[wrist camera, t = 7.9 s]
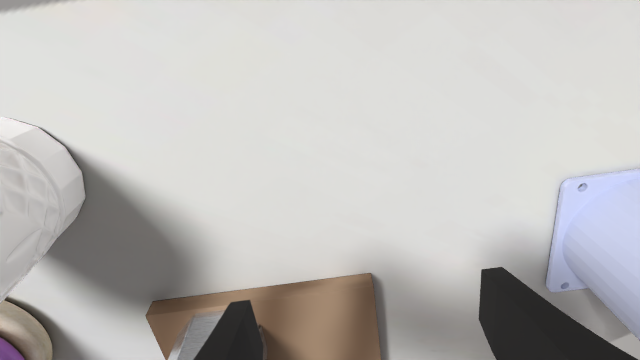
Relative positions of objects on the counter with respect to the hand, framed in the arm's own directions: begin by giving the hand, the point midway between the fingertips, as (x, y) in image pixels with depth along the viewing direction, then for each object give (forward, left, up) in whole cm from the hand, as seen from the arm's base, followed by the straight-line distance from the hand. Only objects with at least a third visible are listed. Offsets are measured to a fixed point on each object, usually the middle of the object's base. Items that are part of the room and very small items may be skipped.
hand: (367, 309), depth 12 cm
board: (+6, +13, -10) cm, 17 cm away
